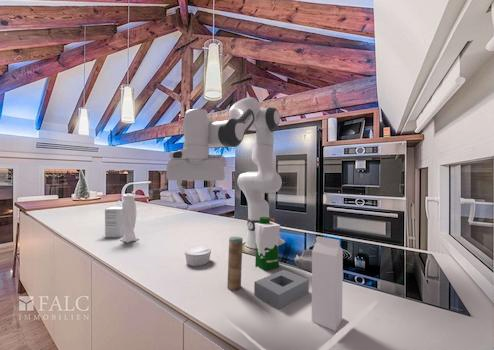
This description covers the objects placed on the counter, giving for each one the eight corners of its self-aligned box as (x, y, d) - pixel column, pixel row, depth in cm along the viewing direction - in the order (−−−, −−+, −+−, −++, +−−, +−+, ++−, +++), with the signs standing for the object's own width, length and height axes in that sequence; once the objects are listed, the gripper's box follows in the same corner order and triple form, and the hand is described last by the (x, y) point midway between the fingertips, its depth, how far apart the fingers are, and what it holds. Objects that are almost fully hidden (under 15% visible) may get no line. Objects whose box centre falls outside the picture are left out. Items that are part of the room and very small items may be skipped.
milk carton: (270, 262, 100) (270, 216, 100) (282, 270, 92) (283, 219, 92) (252, 266, 96) (252, 217, 96) (263, 274, 88) (264, 222, 88)
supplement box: (112, 233, 147) (112, 206, 146) (127, 232, 148) (127, 206, 147) (104, 237, 137) (104, 209, 137) (121, 237, 138) (120, 208, 138)
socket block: (284, 283, 81) (284, 269, 81) (308, 295, 73) (308, 279, 73) (254, 297, 72) (254, 281, 72) (278, 312, 64) (279, 294, 64)
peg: (233, 285, 80) (235, 235, 79) (243, 289, 77) (245, 238, 76) (224, 289, 76) (226, 238, 76) (234, 294, 73) (236, 241, 73)
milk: (319, 313, 64) (320, 233, 64) (342, 322, 60) (343, 237, 60) (311, 325, 59) (311, 238, 59) (335, 335, 55) (336, 242, 55)
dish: (293, 270, 92) (293, 258, 92) (298, 258, 105) (298, 247, 105) (332, 276, 87) (332, 263, 87) (332, 263, 100) (332, 251, 100)
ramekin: (205, 268, 94) (205, 255, 94) (179, 266, 96) (179, 253, 96) (214, 258, 105) (214, 246, 105) (191, 256, 107) (191, 245, 107)
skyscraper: (140, 240, 132) (140, 190, 131) (127, 244, 125) (126, 191, 125) (132, 238, 136) (132, 190, 136) (118, 241, 129) (118, 191, 129)
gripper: (225, 155, 87) (225, 192, 87) (169, 154, 85) (169, 192, 85) (225, 154, 81) (225, 194, 81) (164, 153, 79) (164, 194, 79)
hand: (196, 193), depth 83 cm, fingers open, 8 cm apart
